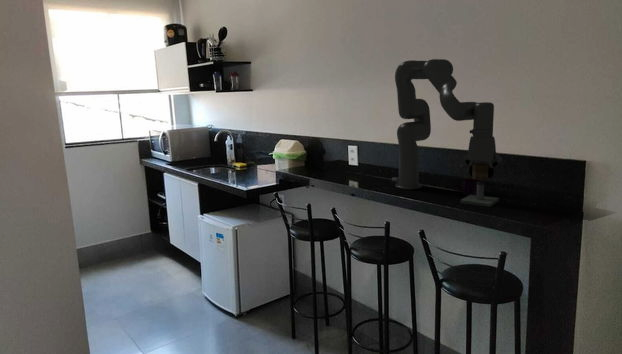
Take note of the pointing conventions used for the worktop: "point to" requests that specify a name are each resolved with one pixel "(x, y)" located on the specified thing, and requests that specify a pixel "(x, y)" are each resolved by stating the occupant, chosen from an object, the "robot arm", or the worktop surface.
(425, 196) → the worktop surface
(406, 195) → the worktop surface
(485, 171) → the collar
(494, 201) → the post block
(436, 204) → the worktop surface
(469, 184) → the mug
